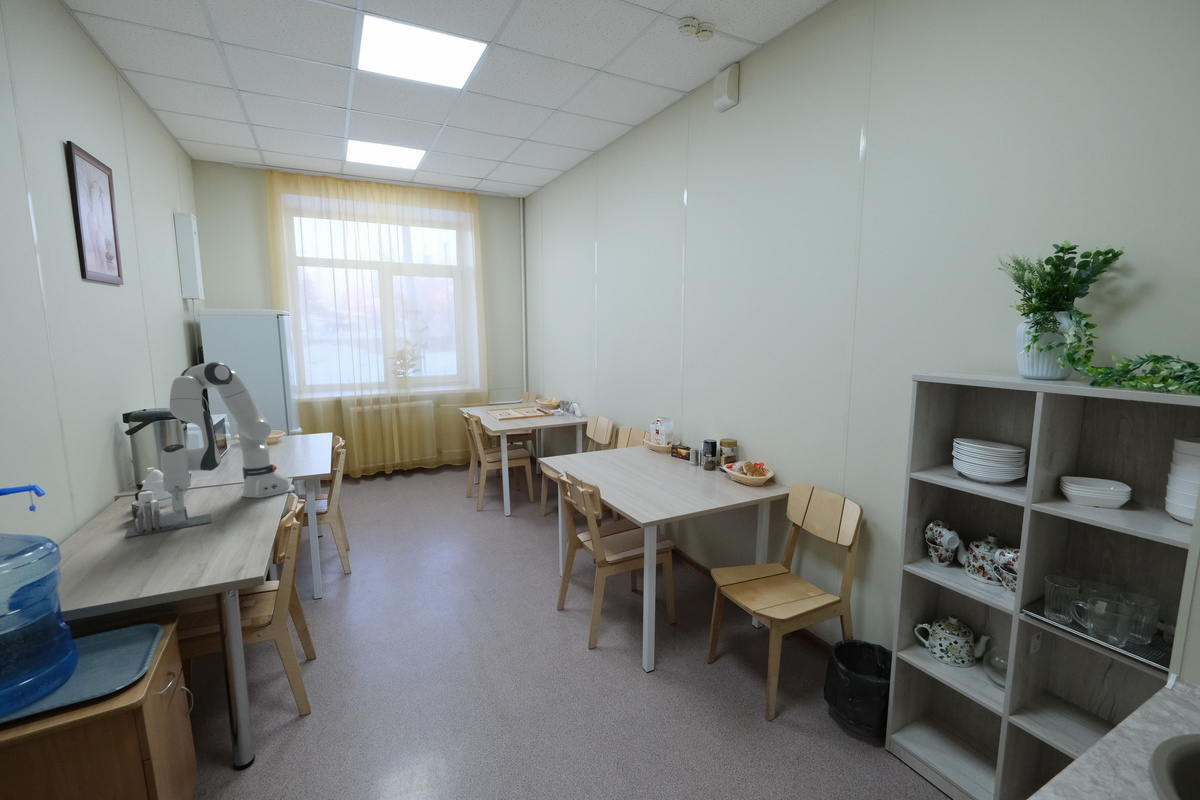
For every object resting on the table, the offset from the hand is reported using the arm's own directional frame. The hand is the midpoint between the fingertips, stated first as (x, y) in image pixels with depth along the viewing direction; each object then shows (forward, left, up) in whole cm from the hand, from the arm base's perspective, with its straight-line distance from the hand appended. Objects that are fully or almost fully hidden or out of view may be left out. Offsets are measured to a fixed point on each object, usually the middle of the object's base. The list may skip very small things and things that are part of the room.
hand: (180, 515), depth 215 cm
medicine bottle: (+12, -19, -4) cm, 22 cm away
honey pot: (+9, -39, -4) cm, 40 cm away
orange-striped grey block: (+5, 0, -2) cm, 6 cm away
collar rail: (+3, 0, -4) cm, 5 cm away
